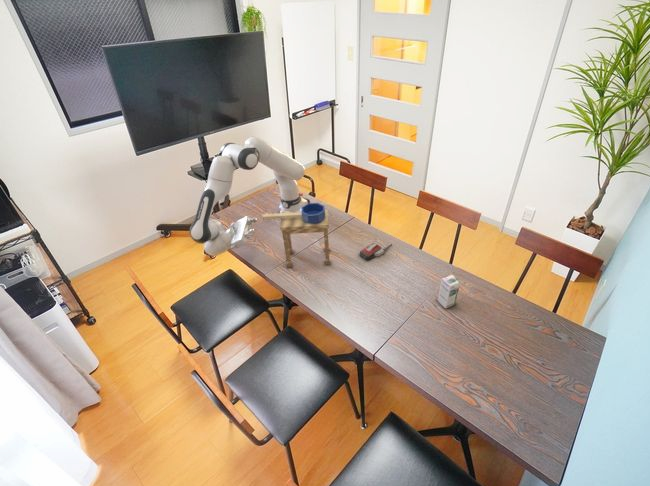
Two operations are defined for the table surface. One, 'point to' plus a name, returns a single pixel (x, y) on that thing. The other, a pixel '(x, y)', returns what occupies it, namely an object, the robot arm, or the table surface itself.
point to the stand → (301, 226)
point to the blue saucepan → (303, 214)
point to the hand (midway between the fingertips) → (254, 224)
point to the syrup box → (448, 291)
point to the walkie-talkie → (372, 251)
